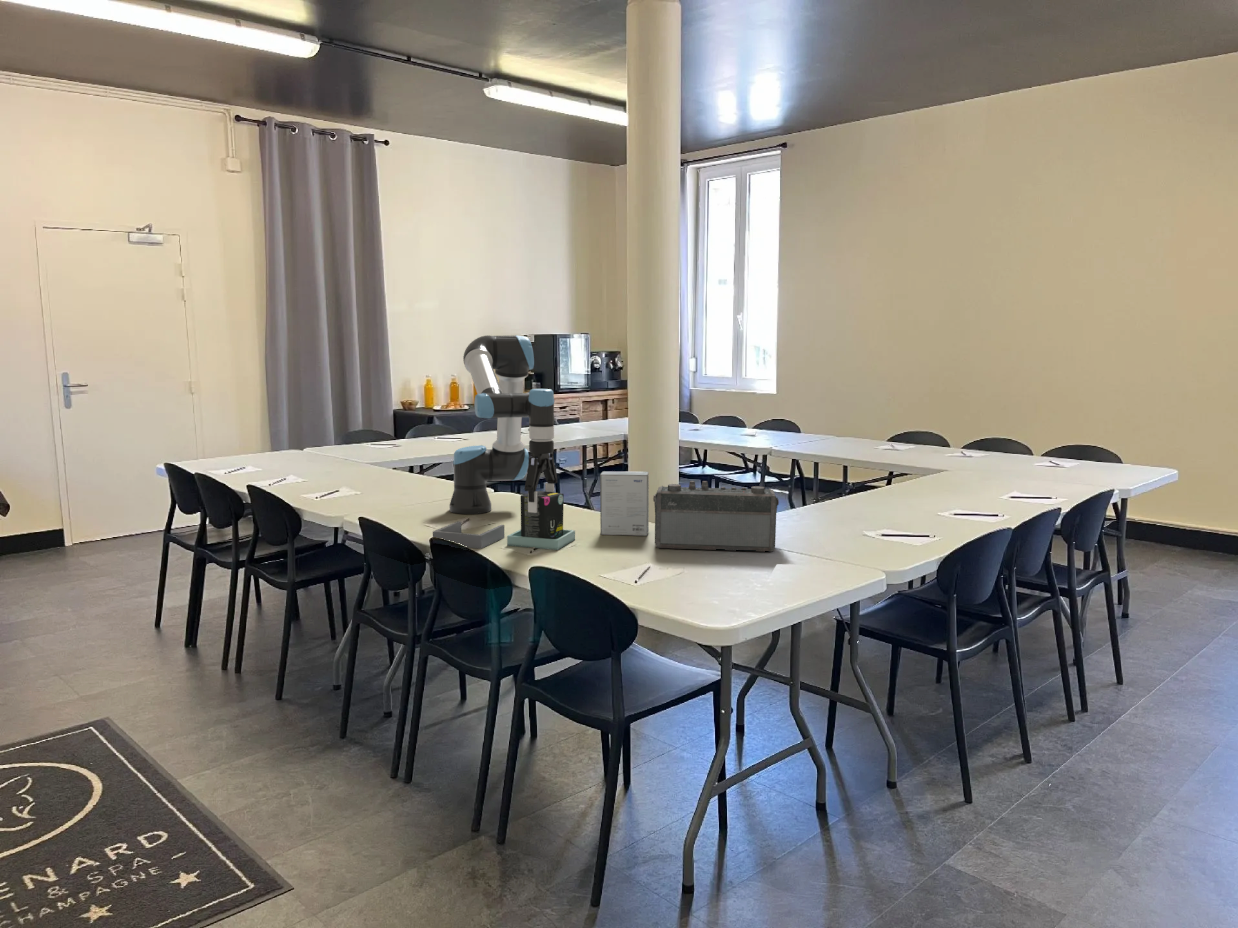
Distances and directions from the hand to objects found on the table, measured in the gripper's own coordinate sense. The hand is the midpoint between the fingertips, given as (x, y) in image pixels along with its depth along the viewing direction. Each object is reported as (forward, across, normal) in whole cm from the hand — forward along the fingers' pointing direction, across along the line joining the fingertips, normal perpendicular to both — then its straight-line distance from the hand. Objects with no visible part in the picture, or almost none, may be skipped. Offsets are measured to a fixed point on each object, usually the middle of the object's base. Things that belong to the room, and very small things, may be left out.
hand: (541, 508), depth 275 cm
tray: (+11, 0, 0) cm, 11 cm away
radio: (+11, -14, +52) cm, 55 cm away
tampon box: (+10, 0, 0) cm, 10 cm away
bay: (+11, +5, -22) cm, 25 cm away
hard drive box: (+11, -22, +20) cm, 32 cm away
